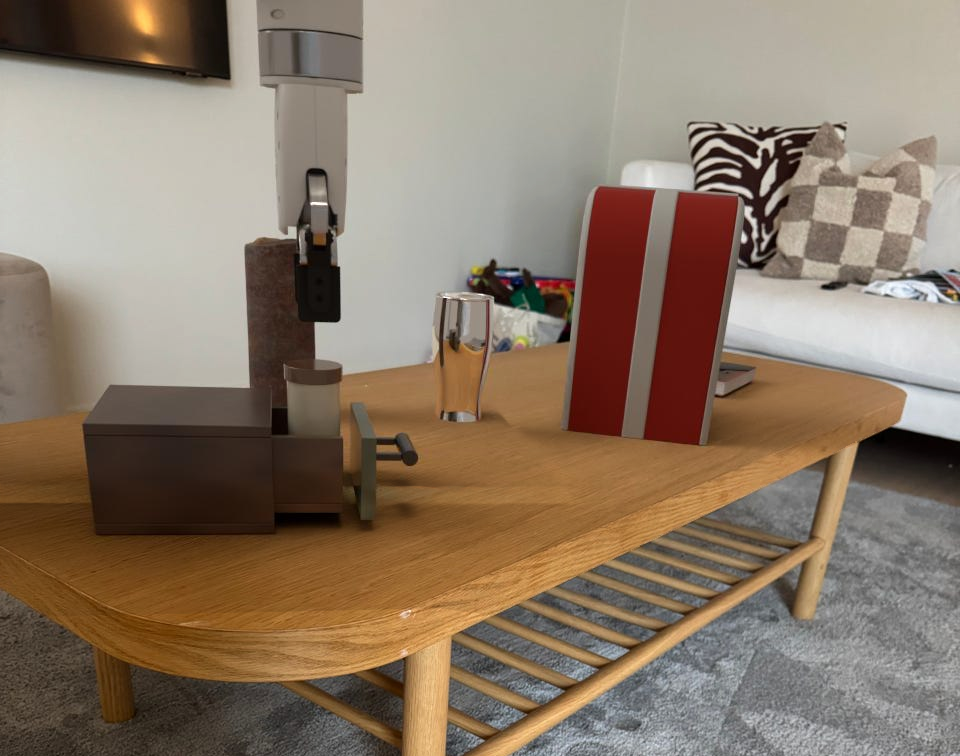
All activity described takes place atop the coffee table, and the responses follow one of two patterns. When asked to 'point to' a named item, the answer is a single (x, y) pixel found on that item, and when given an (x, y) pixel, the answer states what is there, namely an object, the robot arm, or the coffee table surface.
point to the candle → (274, 315)
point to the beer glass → (461, 353)
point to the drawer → (330, 465)
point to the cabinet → (181, 460)
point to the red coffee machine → (651, 311)
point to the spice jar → (313, 396)
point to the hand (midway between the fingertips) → (316, 312)
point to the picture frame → (733, 377)
